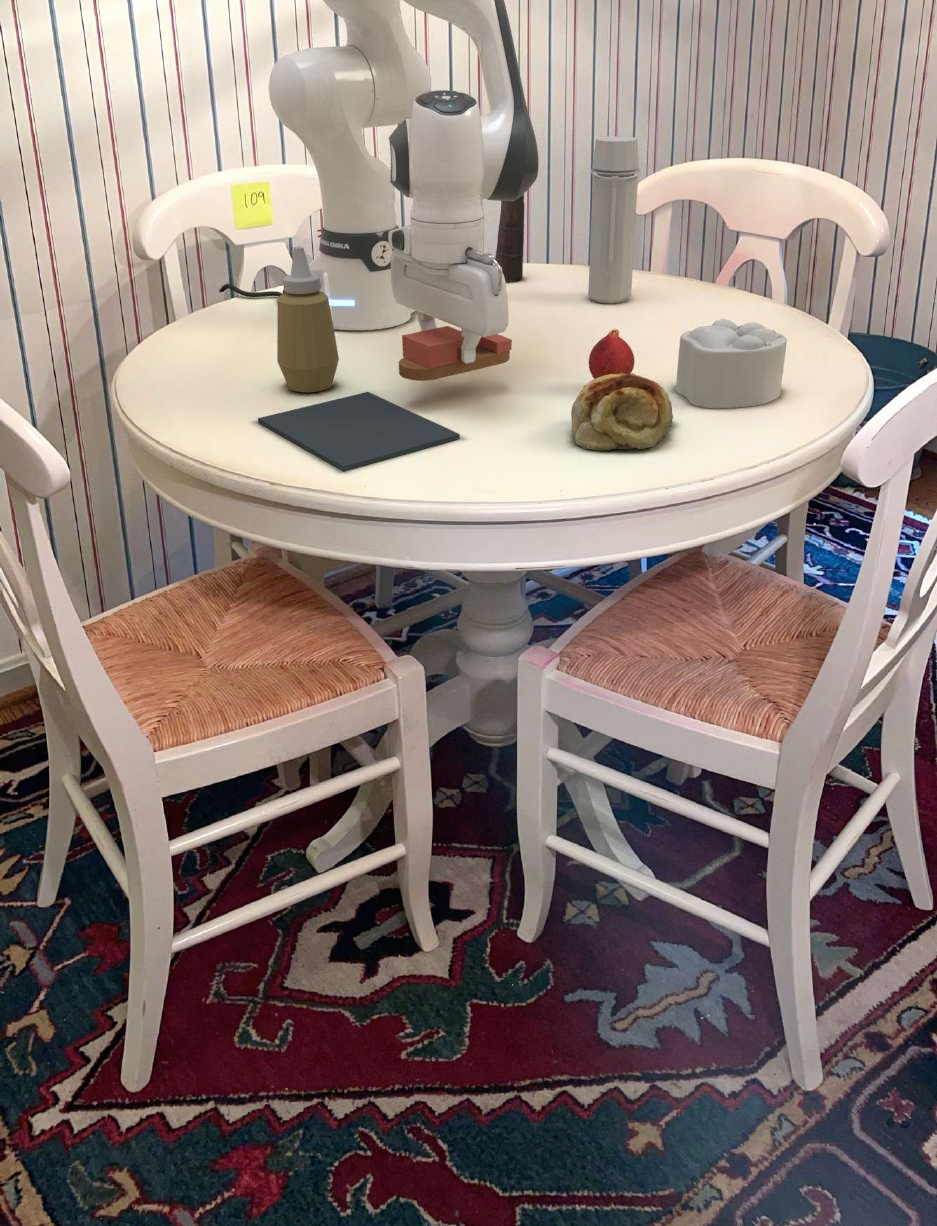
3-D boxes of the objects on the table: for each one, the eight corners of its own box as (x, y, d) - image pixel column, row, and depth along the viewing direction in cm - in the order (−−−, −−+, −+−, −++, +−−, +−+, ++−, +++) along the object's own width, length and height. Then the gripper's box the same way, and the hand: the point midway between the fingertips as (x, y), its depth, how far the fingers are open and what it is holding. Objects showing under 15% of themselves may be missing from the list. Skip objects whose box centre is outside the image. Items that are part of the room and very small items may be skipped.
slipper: (490, 348, 148) (490, 316, 146) (518, 359, 144) (519, 326, 142) (389, 371, 140) (388, 337, 138) (416, 384, 136) (415, 349, 133)
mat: (258, 422, 136) (257, 418, 136) (368, 395, 145) (367, 391, 144) (343, 471, 122) (343, 466, 122) (459, 438, 131) (459, 433, 130)
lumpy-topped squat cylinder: (668, 385, 147) (673, 319, 143) (759, 377, 149) (767, 312, 145) (699, 410, 138) (706, 341, 134) (796, 402, 140) (805, 334, 136)
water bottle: (586, 293, 190) (593, 135, 178) (633, 294, 189) (642, 135, 177) (584, 307, 182) (590, 143, 170) (632, 308, 181) (642, 143, 169)
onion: (603, 399, 142) (606, 337, 138) (579, 387, 147) (581, 326, 143) (640, 392, 144) (644, 331, 141) (615, 380, 149) (619, 320, 145)
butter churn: (519, 289, 194) (521, 113, 180) (472, 283, 198) (470, 111, 184) (543, 278, 200) (547, 108, 187) (497, 272, 205) (497, 106, 191)
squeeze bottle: (350, 380, 150) (341, 243, 141) (324, 399, 144) (313, 256, 135) (296, 375, 153) (284, 239, 144) (268, 393, 146) (254, 252, 137)
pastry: (597, 461, 124) (600, 392, 120) (546, 426, 134) (548, 361, 130) (704, 442, 129) (710, 374, 125) (647, 409, 139) (651, 346, 135)
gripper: (522, 253, 128) (519, 370, 135) (421, 224, 142) (424, 331, 149) (478, 261, 125) (478, 380, 132) (380, 230, 139) (384, 339, 146)
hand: (448, 354), depth 141 cm, fingers closed on slipper, 6 cm apart
